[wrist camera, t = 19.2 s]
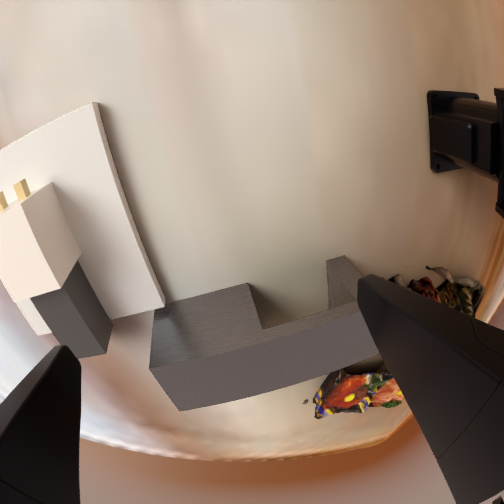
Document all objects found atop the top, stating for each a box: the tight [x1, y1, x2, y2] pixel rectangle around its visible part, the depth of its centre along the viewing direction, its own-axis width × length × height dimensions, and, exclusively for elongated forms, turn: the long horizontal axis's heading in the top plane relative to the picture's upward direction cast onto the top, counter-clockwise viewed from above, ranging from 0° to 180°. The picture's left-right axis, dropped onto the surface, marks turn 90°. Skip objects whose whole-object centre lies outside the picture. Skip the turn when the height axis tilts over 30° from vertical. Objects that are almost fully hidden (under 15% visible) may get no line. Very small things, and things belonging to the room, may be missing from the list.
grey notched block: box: [149, 256, 379, 411], centre depth 20 cm, size 14×5×6 cm, turn 101°
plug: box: [0, 179, 113, 359], centre depth 15 cm, size 4×12×4 cm, turn 12°
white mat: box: [0, 102, 165, 336], centre depth 16 cm, size 12×14×1 cm
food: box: [303, 266, 485, 419], centre depth 29 cm, size 22×19×4 cm
